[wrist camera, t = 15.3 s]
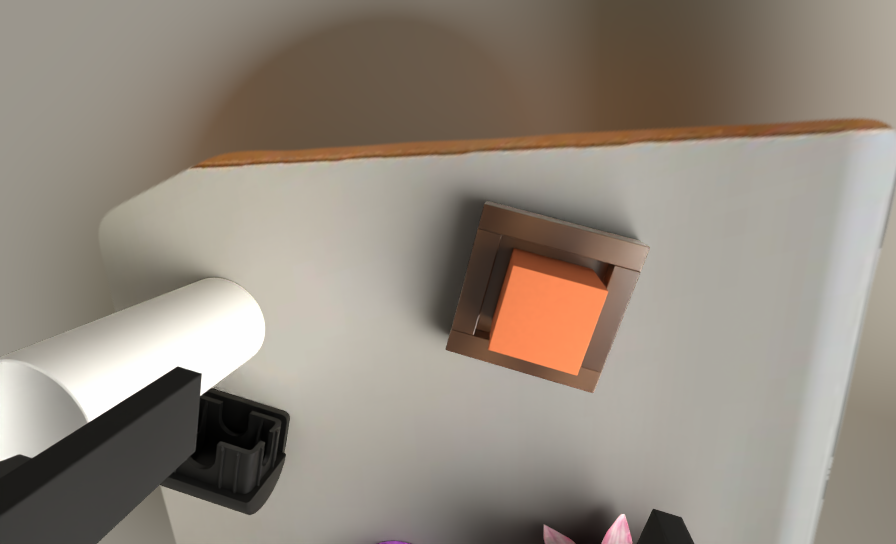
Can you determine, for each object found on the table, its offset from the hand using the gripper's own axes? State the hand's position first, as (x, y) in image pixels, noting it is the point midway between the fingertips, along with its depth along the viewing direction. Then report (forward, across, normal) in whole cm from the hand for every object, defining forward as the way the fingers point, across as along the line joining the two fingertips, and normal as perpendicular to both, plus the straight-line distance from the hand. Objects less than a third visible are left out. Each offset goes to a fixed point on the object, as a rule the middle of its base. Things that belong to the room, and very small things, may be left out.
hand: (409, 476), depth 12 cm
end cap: (+23, -17, -21) cm, 36 cm away
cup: (+23, -20, -11) cm, 33 cm away
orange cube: (+22, +5, 0) cm, 22 cm away
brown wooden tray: (+23, +5, 0) cm, 23 cm away
